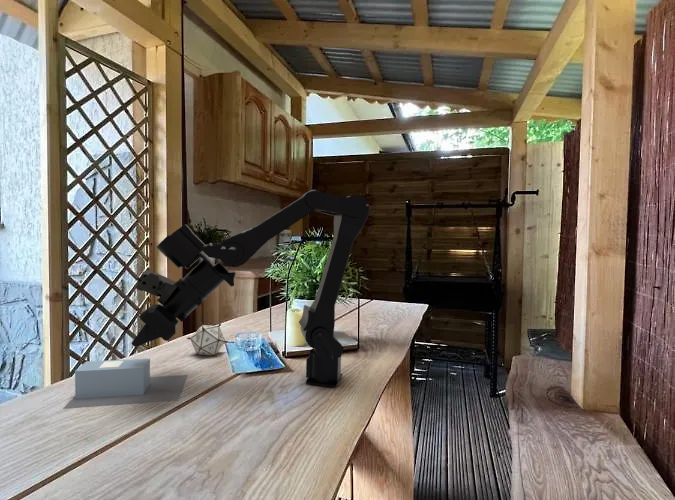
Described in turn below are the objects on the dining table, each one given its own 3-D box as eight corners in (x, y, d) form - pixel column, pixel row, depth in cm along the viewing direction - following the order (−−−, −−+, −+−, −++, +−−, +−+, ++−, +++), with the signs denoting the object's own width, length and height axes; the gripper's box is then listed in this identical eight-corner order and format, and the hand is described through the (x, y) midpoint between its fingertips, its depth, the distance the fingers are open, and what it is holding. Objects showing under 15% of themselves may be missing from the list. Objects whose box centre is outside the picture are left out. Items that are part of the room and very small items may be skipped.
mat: (187, 377, 80) (187, 374, 80) (178, 403, 69) (178, 400, 68) (90, 383, 76) (90, 380, 76) (62, 411, 64) (62, 408, 64)
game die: (215, 369, 95) (240, 335, 97) (200, 368, 87) (228, 331, 89) (189, 347, 98) (214, 315, 100) (172, 345, 89) (200, 309, 91)
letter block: (149, 358, 75) (85, 360, 72) (143, 367, 70) (74, 370, 67) (149, 383, 75) (86, 387, 73) (143, 394, 70) (74, 399, 68)
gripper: (173, 252, 81) (116, 305, 79) (153, 260, 63) (77, 328, 61) (212, 289, 83) (157, 341, 81) (203, 307, 65) (132, 374, 63)
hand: (133, 344), depth 72 cm, fingers closed
